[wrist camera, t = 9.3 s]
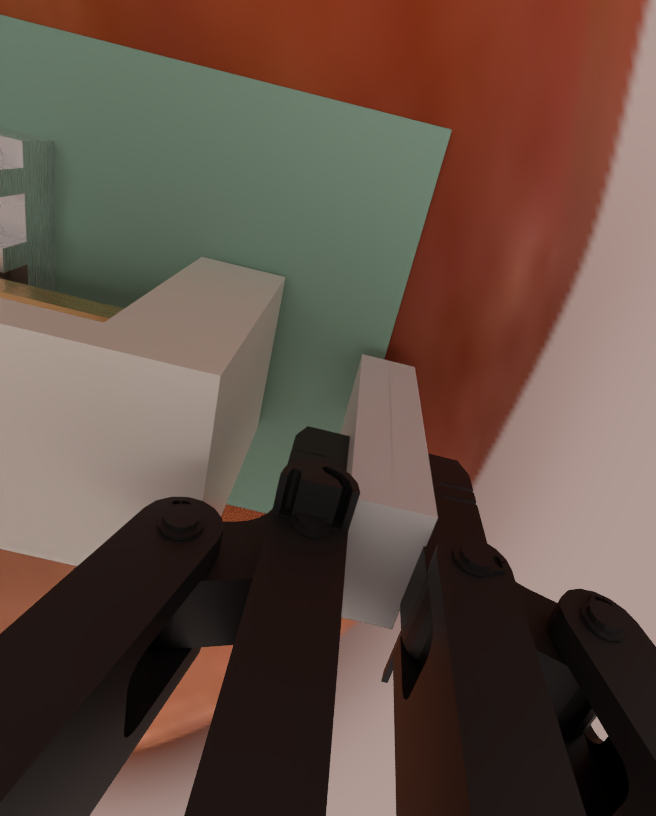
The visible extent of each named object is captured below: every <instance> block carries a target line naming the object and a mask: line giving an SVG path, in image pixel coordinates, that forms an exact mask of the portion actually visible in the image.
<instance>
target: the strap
mask: <svg viewBox="0 0 656 816" xmlns="http://www.w3.org/2000/svg"><path fill="white" fill-rule="evenodd" d="M0 298H4V299H8V300H12V301H16V302H20V303H24V304H29V305H33V306H37V307H41V308H45V309H50V310H54V311H58V312H62V313H66V314H70V315H75V316H79V317H83V318H87V319H91V320H95V321H100V322H105V321H107V320H108V319H110V318H111V317H113V316H114V315H116V314H117V313H119V312H120V311H122V310H123V309H124V308H120V307H116V306H112V305H108V304H104V303H99V302H95V301H91V300H87V299H83V298H79V297H75V296H71V295H67V294H63V293H58V292H54V291H50V290H46V289H42V288H38V287H34V286H30V285H26V284H22V283H18V282H13V281H9V280H5V279H1V278H0Z"/></svg>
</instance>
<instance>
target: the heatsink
mask: <svg viewBox="0 0 656 816" xmlns="http://www.w3.org/2000/svg"><path fill="white" fill-rule="evenodd" d="M0 278H1V279H5V280H9V281H13V282H18V283H22V284H26V285H30V286H34V287H38V288H42V289H46V290H50V291H54V292H56V241H55V177H54V141H52V140H48V139H44V138H40V137H36V136H32V135H28V134H24V133H20V132H16V131H12V130H8V129H4V128H0Z"/></svg>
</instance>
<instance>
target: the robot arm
mask: <svg viewBox="0 0 656 816" xmlns="http://www.w3.org/2000/svg"><path fill="white" fill-rule="evenodd" d="M472 492H473V488H472V484H471V481H470V477H469V475H468V473H467V472H466V471H465V470H464V469H463V467H462V466H461V465H460V464H459V462H458V461H456V460H452V459H448V458H444V457H440V456H436V455H432V454H428V450H427V443H426V437H425V430H424V424H423V417H422V411H421V404H420V397H419V391H418V384H417V378H416V371H415V367H412V366H408V365H404V364H400V363H396V362H392V361H388V360H384V359H380V358H376V357H372V356H368V355H364V354H362V357H361V360H360V364H359V368H358V371H357V375H356V379H355V382H354V386H353V389H352V393H351V397H350V400H349V404H348V407H347V411H346V415H345V418H344V422H343V426H342V429H341V433H340V434H339V433H335V432H330V431H326V430H322V429H318V428H314V427H310V426H307V427H306V428H304V429H303V430H302V431H300V432H299V433H298V434H296V436H295V439H294V443H293V446H292V450H291V453H290V457H289V460H288V464H287V466H286V467H285V468H284V469H283V471H282V472H281V474H280V478H279V482H278V487H277V491H276V496H275V500H274V505H273V508H272V509H271V510H270V511H269V512H268V513H267V514H265V515H263V516H261V517H260V518H257V519H253V520H249V521H240V522H222V517H221V516H220V515H219V513H218V512H217V511H216V509H215V508H213V507H212V506H210V505H209V504H207V503H205V502H204V501H201V500H197V499H194V498H190V497H168V498H164V499H160V500H156V501H154V502H153V503H151V504H149V505H148V506H146V507H144V508H143V509H142V510H141V511H140V512H138V513H137V514H136V515H135V516H134V517H133V518H132V519H130V520H129V521H128V522H127V523H126V524H125V525H124V526H123V527H121V528H120V529H119V530H118V531H117V532H116V533H115V534H113V535H112V536H111V537H110V538H109V539H108V540H107V541H106V542H104V543H103V544H102V545H101V546H100V547H99V548H98V549H96V550H95V551H94V552H93V553H92V554H91V555H90V556H88V557H87V558H86V559H85V560H84V561H83V562H82V563H81V564H79V565H78V566H77V567H76V568H75V569H74V570H73V571H71V572H70V573H69V574H68V575H67V576H66V577H65V578H63V579H62V580H61V581H60V582H59V583H58V584H57V585H56V586H54V587H53V588H52V589H51V590H50V591H49V592H48V593H46V594H45V595H44V596H43V597H42V598H41V599H40V600H39V601H37V602H36V603H35V604H34V605H33V606H32V607H31V608H29V609H28V610H27V611H26V612H25V613H24V614H23V615H21V616H20V617H19V618H18V619H17V620H16V621H15V622H14V623H12V624H11V625H10V626H9V627H8V628H7V629H6V630H4V631H3V632H2V633H1V634H0V816H89V815H90V814H91V812H92V811H93V809H94V808H95V807H96V805H97V804H98V802H99V801H100V799H101V798H102V796H103V795H104V793H105V792H106V790H107V789H108V787H109V786H110V784H111V783H112V781H113V780H114V778H115V777H116V775H117V774H118V772H119V771H120V769H121V768H122V766H123V765H124V764H125V762H126V761H127V759H128V758H129V756H130V754H131V753H132V752H133V750H134V749H135V747H136V746H137V744H138V743H139V741H140V740H141V738H142V737H143V735H144V734H145V732H146V731H147V729H148V728H149V726H150V725H151V723H152V722H153V720H154V719H155V717H156V716H157V714H158V713H159V712H160V710H161V709H162V707H163V706H164V704H165V703H166V701H167V700H168V698H169V697H170V695H171V694H172V692H173V691H174V689H175V688H176V686H177V685H178V683H179V682H180V680H181V679H182V677H183V676H184V674H185V673H186V671H187V670H188V668H189V667H190V665H191V664H192V663H193V661H194V660H195V658H196V657H197V655H198V654H199V652H200V649H201V647H209V646H222V645H233V649H232V652H231V656H230V659H229V663H228V666H227V670H226V673H225V677H224V680H223V683H222V687H221V690H220V694H219V697H218V701H217V704H216V708H215V711H214V715H213V718H212V722H211V725H210V729H209V732H208V736H207V739H206V742H205V746H204V749H203V753H202V757H201V760H200V763H199V767H198V770H197V774H196V777H195V781H194V784H193V788H192V791H191V794H190V798H189V802H188V805H187V808H186V812H185V815H184V816H326V806H327V793H328V781H329V768H330V754H331V743H332V742H331V741H332V729H333V717H334V704H335V692H336V679H337V665H338V654H339V653H338V652H339V641H340V628H341V617H342V618H346V619H350V620H355V621H359V622H363V623H368V624H372V625H376V626H380V627H385V628H389V629H392V628H393V626H394V623H395V621H396V619H397V616H398V613H399V611H400V614H401V632H400V634H399V636H398V638H397V641H396V643H395V646H394V648H393V650H392V653H391V655H390V658H389V660H388V662H387V664H386V667H385V669H384V672H383V677H382V682H386V683H387V682H388V680H389V678H390V676H391V673H392V671H393V677H394V678H393V680H394V724H395V766H396V767H395V769H396V815H397V816H656V647H655V645H654V644H653V643H652V641H651V640H650V639H649V637H648V636H647V635H646V634H645V632H644V631H643V630H642V628H641V627H640V626H639V624H638V623H637V622H636V621H635V620H634V619H633V618H632V617H631V616H630V615H629V614H628V613H627V612H626V611H625V610H624V609H623V608H621V607H620V606H619V605H617V604H616V603H614V602H613V601H612V600H610V599H608V598H606V597H604V596H602V595H600V594H597V593H596V592H593V591H587V590H583V589H575V590H568V591H567V592H566V593H565V594H564V595H563V596H562V597H561V598H560V600H559V602H558V603H556V602H554V601H552V600H550V599H548V598H545V597H544V596H542V595H539V594H537V593H535V592H533V591H531V590H529V589H527V588H525V587H524V586H522V585H520V584H518V583H517V582H515V579H514V576H513V572H512V570H511V568H510V566H509V564H508V562H507V560H506V559H505V558H504V557H503V556H502V555H501V554H500V553H499V552H498V551H497V550H496V549H495V548H493V547H492V546H490V545H488V544H487V541H486V537H485V534H484V529H483V526H482V522H481V518H480V514H479V511H478V507H477V505H476V500H475V496H474V493H472ZM596 717H598V719H599V720H600V722H601V724H602V726H603V728H604V729H605V731H606V733H607V734H608V737H607V739H606V740H605V741H602V740H601V739H600V738H599V737H598V736H597V735H596V733H595V732H594V730H593V728H592V727H591V723H592V722H593V721H594V719H595V718H596Z"/></svg>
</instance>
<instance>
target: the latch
mask: <svg viewBox="0 0 656 816" xmlns="http://www.w3.org/2000/svg"><path fill="white" fill-rule="evenodd" d="M285 278H286V277H283V276H279V275H275V274H271V273H267V272H263V271H259V270H255V269H251V268H247V267H243V266H238V265H234V264H230V263H226V262H222V261H218V260H214V259H210V258H206V257H201V258H199V259H198V260H196V261H195V262H193V263H192V264H190V265H189V266H187V267H186V268H184V269H183V270H181V271H180V272H178V273H177V274H175V275H174V276H172V277H171V278H169V279H168V280H166V281H165V282H163V283H162V284H160V285H159V286H157V287H156V288H154V289H153V290H151V291H150V292H149V293H147V294H146V295H144V296H143V297H141V298H140V299H138V300H137V301H135V302H134V303H132V304H131V305H129V306H128V307H126V308H125V309H123V310H122V311H120V312H119V313H117V314H116V315H114V316H113V317H111V318H110V319H108V320H107V321H105V322H100V321H95V320H91V319H87V318H83V317H79V316H75V315H70V314H66V313H62V312H58V311H54V310H50V309H45V308H41V307H37V306H33V305H29V304H24V303H20V302H16V301H12V300H8V299H4V298H0V549H3V550H7V551H12V552H16V553H21V554H25V555H30V556H34V557H38V558H43V559H47V560H52V561H56V562H61V563H65V564H69V565H74V566H78V565H79V564H81V563H82V562H83V561H84V560H85V559H86V558H87V557H88V556H90V555H91V554H92V553H93V552H94V551H95V550H96V549H98V548H99V547H100V546H101V545H102V544H103V543H104V542H106V541H107V540H108V539H109V538H110V537H111V536H112V535H113V534H115V533H116V532H117V531H118V530H119V529H120V528H121V527H123V526H124V525H125V524H126V523H127V522H128V521H129V520H130V519H132V518H133V517H134V516H135V515H136V514H137V513H138V512H140V511H141V510H142V509H143V508H144V507H146V506H148V505H149V504H151V503H153V502H154V501H156V500H160V499H164V498H168V497H190V498H194V499H197V500H201V501H204V502H205V503H207V504H209V505H210V506H212V507H213V508H215V509H216V511H217V512H218V513H219V515H220V516H221V515H222V513H223V511H224V508H225V506H226V503H227V501H228V498H229V496H230V494H231V491H232V489H233V486H234V484H235V481H236V479H237V477H238V474H239V472H240V469H241V467H242V464H243V462H244V460H245V457H246V455H247V452H248V450H249V447H250V445H251V443H252V440H253V438H254V435H255V433H256V430H257V428H258V423H259V417H260V412H261V407H262V401H263V396H264V391H265V385H266V380H267V375H268V369H269V364H270V359H271V353H272V348H273V342H274V337H275V332H276V326H277V321H278V316H279V310H280V305H281V300H282V294H283V289H284V284H285Z"/></svg>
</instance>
